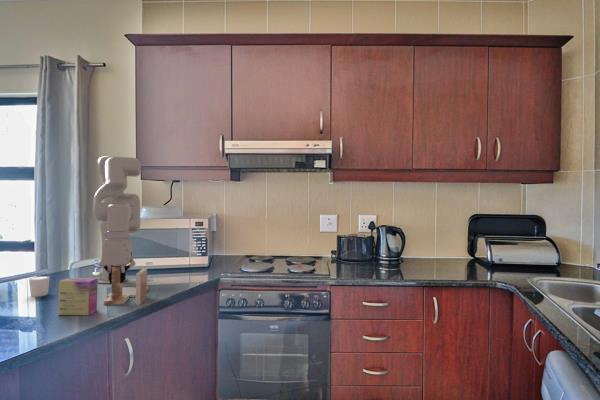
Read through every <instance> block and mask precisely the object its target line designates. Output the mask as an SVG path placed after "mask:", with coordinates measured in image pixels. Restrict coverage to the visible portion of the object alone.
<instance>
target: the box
mask: <svg viewBox="0 0 600 400" xmlns="http://www.w3.org/2000/svg"><path fill="white" fill-rule="evenodd" d="M98 279H99V277H93V278H92V277H91V278H88V277H87V278H86V277H85V278H84V277H67V278H64V279H61V280H59V281H58V305H57V306H58V307H57V308H58V309H57V315H58V316H86V315H87V316H89V315H92V314H93V313H95V312H97V310H98V283H99V282H98Z"/></svg>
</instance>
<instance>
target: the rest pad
mask: <svg viewBox="0 0 600 400" xmlns="http://www.w3.org/2000/svg"><path fill="white" fill-rule="evenodd" d="M149 288H150V287H149V286H147V291H148V290H149ZM111 294H112V291H111V292H110V293H108V294H107V295H106V299H107V298H108V297H110V296H111ZM123 295H129V297H132V298H136V286H130V287H129V286H126V287H124V286H122V296H123Z"/></svg>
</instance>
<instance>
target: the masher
mask: <svg viewBox="0 0 600 400" xmlns="http://www.w3.org/2000/svg"><path fill="white" fill-rule="evenodd" d="M120 273H121V265H114V266H113V267H112V283H111V292H112V294H111V296H110V297H108V298H107V297H106V299H104V300H103V305H104V306H109V305H110V306H111V305H124V304H125V303H127V302H128V301H129V300H128V299H130V298H129V295H123V296H122V287H123V283H120ZM127 300H128V301H127ZM126 301H127V302H126Z"/></svg>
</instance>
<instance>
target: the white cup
mask: <svg viewBox="0 0 600 400" xmlns="http://www.w3.org/2000/svg"><path fill="white" fill-rule="evenodd" d="M50 279H51V277H50V276H48V275H47V276H43V275H42V276H41V275H40V276H34V277H31V278H28V281H29V290H30V297H35V298H36V297H37V298H38V297H43V296H47V295H48V293H49V288H50V287H49V285H50Z"/></svg>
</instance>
